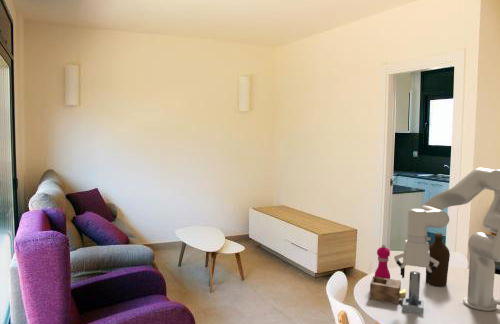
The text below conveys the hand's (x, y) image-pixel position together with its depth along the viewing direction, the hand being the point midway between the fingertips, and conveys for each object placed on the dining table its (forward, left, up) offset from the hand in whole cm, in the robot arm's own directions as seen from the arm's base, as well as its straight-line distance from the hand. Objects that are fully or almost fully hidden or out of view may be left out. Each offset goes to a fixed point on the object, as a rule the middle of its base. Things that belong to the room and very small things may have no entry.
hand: (415, 278), depth 169 cm
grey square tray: (0, 0, -13) cm, 13 cm away
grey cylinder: (0, 0, -12) cm, 11 cm away
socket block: (+12, -7, -13) cm, 19 cm away
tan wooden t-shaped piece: (+8, -7, -13) cm, 16 cm away
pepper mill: (+15, -22, -13) cm, 30 cm away
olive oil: (-9, -36, -13) cm, 39 cm away
